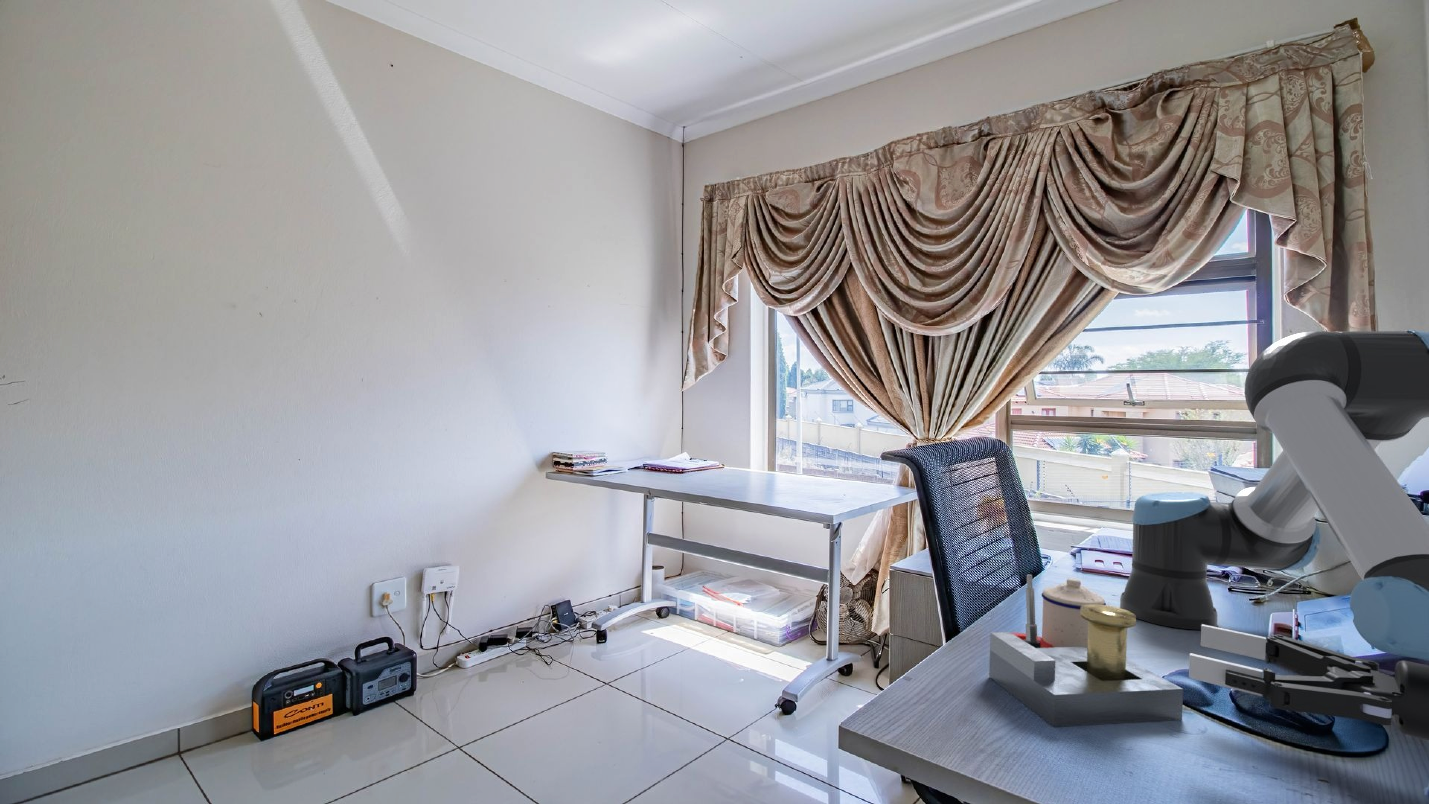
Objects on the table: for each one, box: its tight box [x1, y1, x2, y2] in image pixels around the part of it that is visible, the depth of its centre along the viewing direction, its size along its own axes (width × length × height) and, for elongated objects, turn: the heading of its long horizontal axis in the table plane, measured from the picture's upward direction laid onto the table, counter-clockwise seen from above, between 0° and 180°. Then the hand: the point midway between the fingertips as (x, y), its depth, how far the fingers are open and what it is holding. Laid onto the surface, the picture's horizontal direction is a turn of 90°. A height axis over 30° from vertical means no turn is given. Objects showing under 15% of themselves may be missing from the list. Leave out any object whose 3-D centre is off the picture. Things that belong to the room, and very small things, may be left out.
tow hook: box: [1011, 574, 1053, 648], centre depth 104 cm, size 8×13×9 cm
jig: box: [988, 631, 1184, 728], centre depth 87 cm, size 18×14×6 cm
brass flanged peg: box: [1080, 604, 1137, 681], centre depth 87 cm, size 6×6×12 cm
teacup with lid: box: [1041, 577, 1107, 647], centre depth 105 cm, size 12×9×12 cm
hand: (1195, 649), depth 80 cm, fingers open, 13 cm apart
